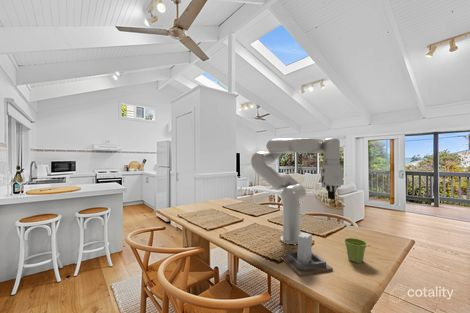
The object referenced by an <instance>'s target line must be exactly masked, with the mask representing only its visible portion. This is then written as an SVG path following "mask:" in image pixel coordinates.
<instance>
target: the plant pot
mask: <svg viewBox="0 0 470 313" xmlns="http://www.w3.org/2000/svg"><path fill="white" fill-rule="evenodd" d="M343 242H344V243H345V246H346V253H347V259H348V261H350V262H354V263H355V264H356V263H357V264H361V263H362V262H364V258H365V251H366V248H367V245H368V243H367V241H365V240H362V239H361V238H360V239H359V238H354V237H347V238H344V240H343Z"/></svg>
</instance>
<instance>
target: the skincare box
mask: <svg viewBox="0 0 470 313" xmlns="http://www.w3.org/2000/svg"><path fill="white" fill-rule="evenodd" d="M312 236H313V235H312V234H311V233H307V232H302V233H300V235H299V236H298V245H297V252H298V254H297V261H299V262H300V263H301V264H308V263H309V262H310V261H311V252H312V249H313V248H312V243H313V240H312V238H313V237H312Z"/></svg>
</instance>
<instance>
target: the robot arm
mask: <svg viewBox="0 0 470 313" xmlns="http://www.w3.org/2000/svg"><path fill="white" fill-rule="evenodd" d="M340 142H341V140H340V139H339V138H333V137H332V138H325V139H319V138H315V137H314V138H313V137H308V138H303V137H302V138H301V137H300V138H273V139H269V140H268V141H267V143H266V150H267V151H257V152H254V153H253V155H252V156H251V160H250V162H251V166H252V168H253V170H254V172H255V173H256V174H257V175H258V176H259V177H261V178H262V179H263V180H264V181H265V182H266V183H268V185H270V186H271V187H272V188H273V189H274V190H277V191H280V190H282V192H281V201H282V202H281V203H282V230H281V233H282V235H281V236H280V238H279V239H280V241H282V242H281V243H283V242H285V243H288V244H287V245H289V244H298V236H299V235H300V234H301V207H300V206H301V205H300V202H299V201H301V200H303V199H305V198H306V195H307V190H306V188H305V187H304V186H303V185H302V184H301V183H300V182H299V181H297V179H295V178H293V177H292V176H291V175H289V174H288V173H279V172H277V171H276V170H275V169H273V168H272V167H271V166H269V165H273V163H275V162H276V160H277V159H279V157H281V155H283V154H294V153H303V154H304V153H305V154H306V153H307V154H308V153H309V154H321V153H322V154H323V160H322V161H321V163H322V164H323V165H322V168H321V174H320V182H321V188H325V190H326V191H327V198H328V199H329V200H335V199H336V191H337V190H338V188H340V187H342V186H343V184H344V177H343V176H344V175H343V168H342V165H340V163H341V160H340V157H341V156H340V154H341V151H340V149H341V148H340V146H341V143H340ZM285 243H284V244H285Z"/></svg>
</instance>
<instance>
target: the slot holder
mask: <svg viewBox="0 0 470 313" xmlns="http://www.w3.org/2000/svg"><path fill="white" fill-rule="evenodd" d="M297 254H298V251H291V252H286V253H285V255H281V256H280V258H281V257H282V258H283V260H282V261H283V262H284V263H285V264H286V265H287V266H288V267H289V268H290V269H291V270H292V271H294V273H296V274H297V275H298V276H299V277H304V276H305V277H306V276H310V275H316V274H323V273H328V272H332V271H333V270H334V268H333V267H332V266H330V265H329V264H328V263H327V261H325V260H324V259H323V258H321V257H320V256H318V255H317V254H315V253H314V252H313V251H311V261H310V262H309V263H308V264H301V263H300V262H299V261H297Z"/></svg>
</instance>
